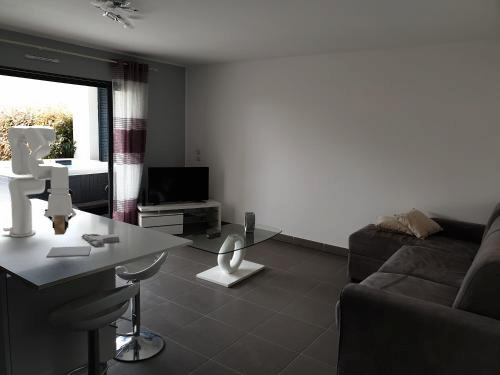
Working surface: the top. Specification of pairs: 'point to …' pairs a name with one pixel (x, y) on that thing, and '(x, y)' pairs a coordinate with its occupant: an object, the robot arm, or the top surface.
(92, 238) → the pistol
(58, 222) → the wooden block
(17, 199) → the robot arm
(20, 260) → the top surface
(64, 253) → the rubber mat
